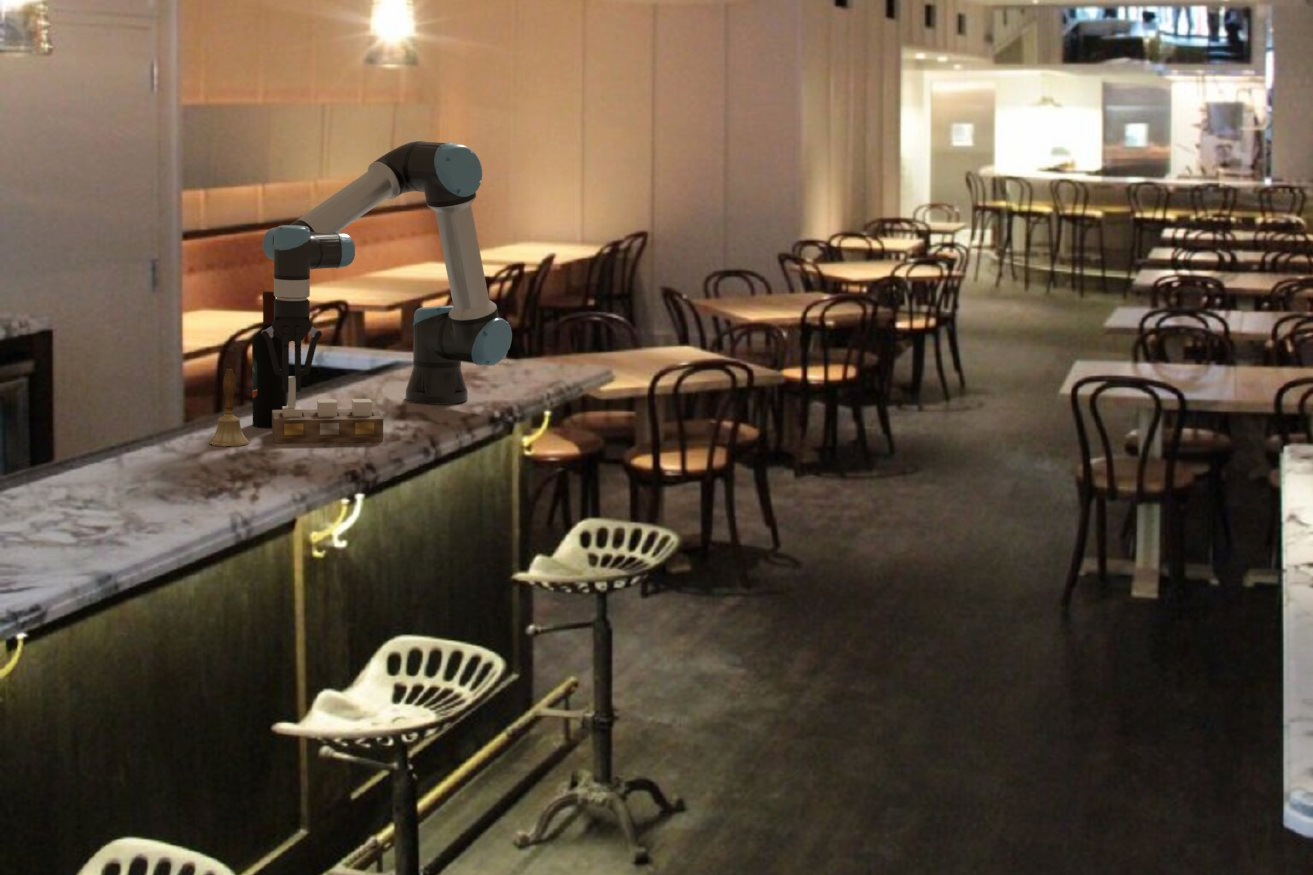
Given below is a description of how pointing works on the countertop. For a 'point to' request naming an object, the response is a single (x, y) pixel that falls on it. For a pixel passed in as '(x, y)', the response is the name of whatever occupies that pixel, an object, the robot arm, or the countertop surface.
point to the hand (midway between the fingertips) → (291, 406)
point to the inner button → (361, 407)
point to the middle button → (326, 407)
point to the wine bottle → (266, 370)
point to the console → (327, 427)
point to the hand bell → (229, 418)
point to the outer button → (291, 411)
